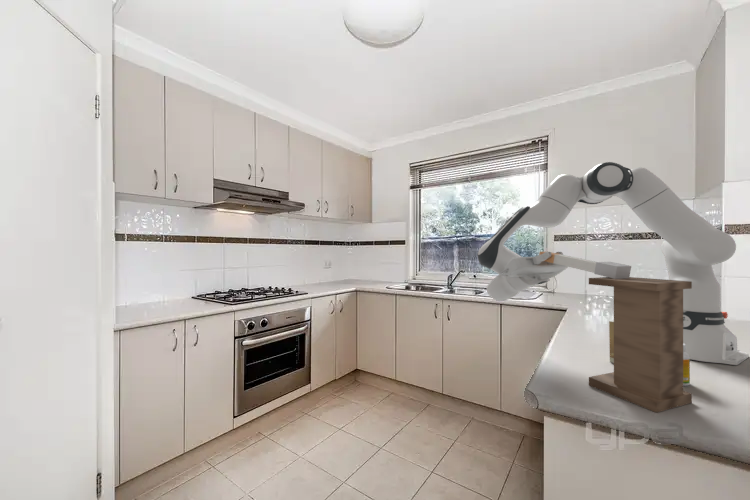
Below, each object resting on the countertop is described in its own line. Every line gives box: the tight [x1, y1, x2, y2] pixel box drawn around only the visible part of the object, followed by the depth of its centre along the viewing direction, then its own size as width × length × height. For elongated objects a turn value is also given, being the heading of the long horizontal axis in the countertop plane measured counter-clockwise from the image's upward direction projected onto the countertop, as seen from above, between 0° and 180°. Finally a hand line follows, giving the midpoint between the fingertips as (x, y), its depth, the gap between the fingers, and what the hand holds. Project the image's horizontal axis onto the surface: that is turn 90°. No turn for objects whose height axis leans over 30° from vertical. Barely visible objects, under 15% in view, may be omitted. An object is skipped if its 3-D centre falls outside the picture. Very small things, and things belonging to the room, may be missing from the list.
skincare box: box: [608, 320, 614, 364], centre depth 93 cm, size 6×4×12 cm
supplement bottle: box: [683, 343, 691, 387], centre depth 80 cm, size 5×5×10 cm
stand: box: [588, 276, 693, 413], centre depth 73 cm, size 12×14×26 cm
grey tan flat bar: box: [538, 251, 632, 279], centre depth 87 cm, size 5×23×3 cm, turn 20°
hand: (555, 253), depth 93 cm, fingers closed on grey tan flat bar, 3 cm apart
